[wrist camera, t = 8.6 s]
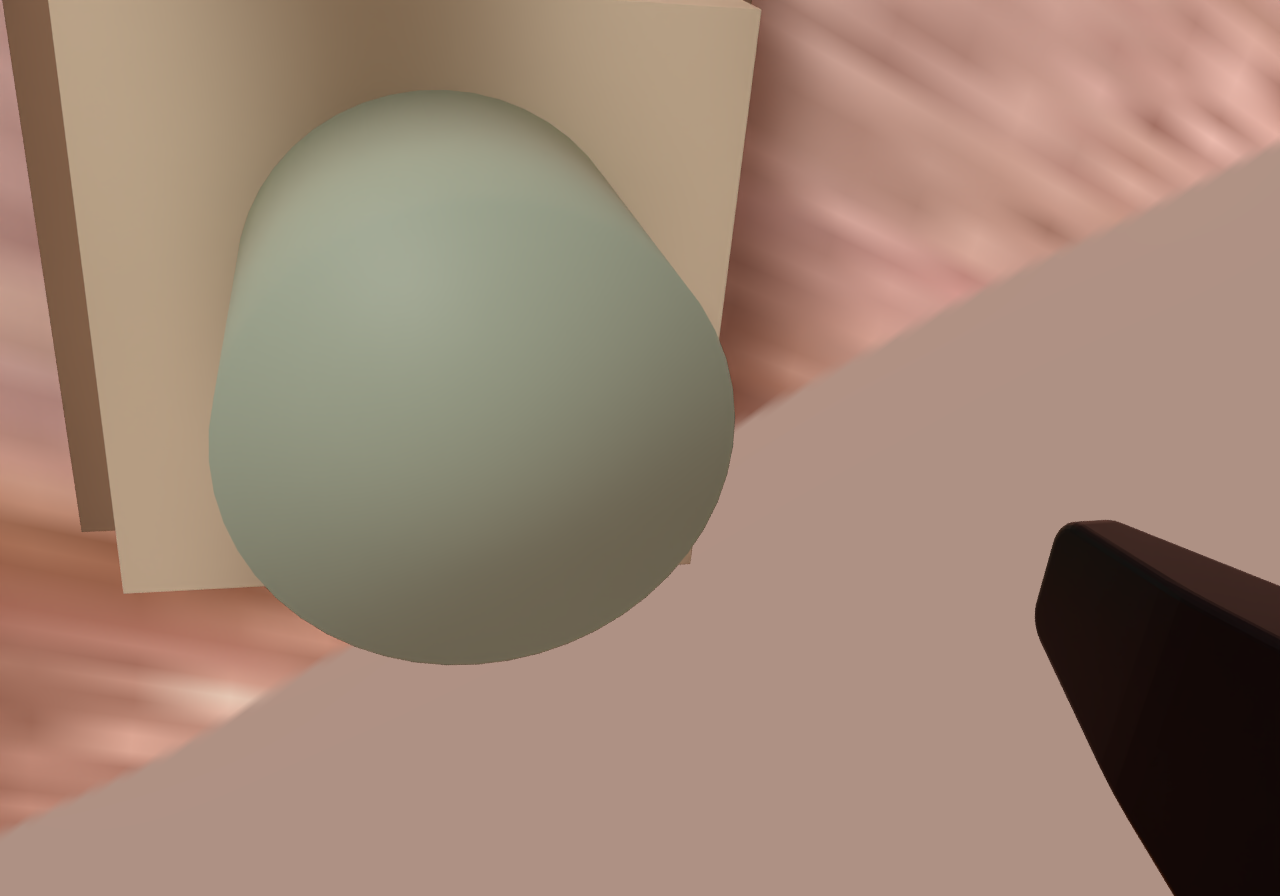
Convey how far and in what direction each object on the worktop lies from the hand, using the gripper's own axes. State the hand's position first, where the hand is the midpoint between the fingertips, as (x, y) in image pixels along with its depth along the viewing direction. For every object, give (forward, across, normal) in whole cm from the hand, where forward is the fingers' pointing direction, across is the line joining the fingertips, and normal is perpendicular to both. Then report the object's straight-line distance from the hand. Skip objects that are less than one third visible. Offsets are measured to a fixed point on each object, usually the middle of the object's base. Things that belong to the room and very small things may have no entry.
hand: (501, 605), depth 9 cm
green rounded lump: (+8, 0, 0) cm, 8 cm away
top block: (+10, 0, +1) cm, 11 cm away
